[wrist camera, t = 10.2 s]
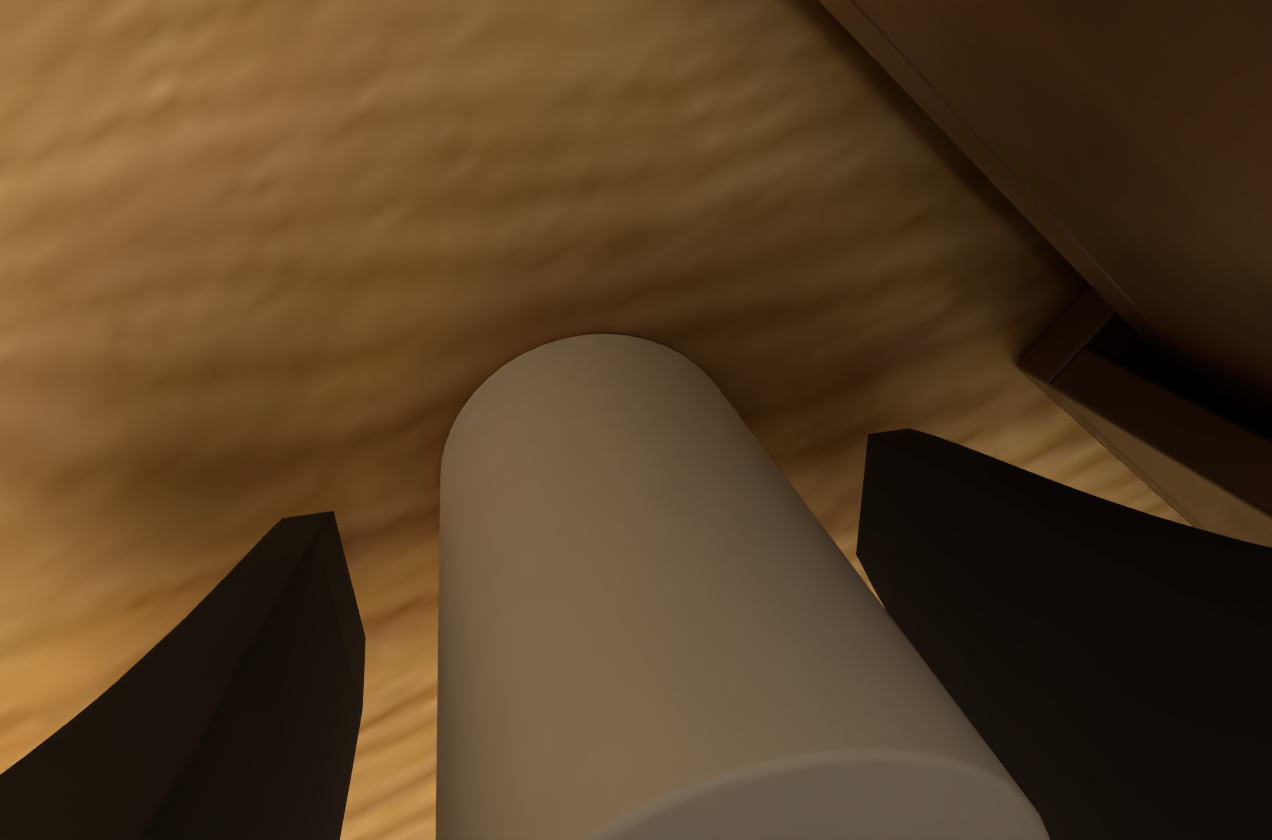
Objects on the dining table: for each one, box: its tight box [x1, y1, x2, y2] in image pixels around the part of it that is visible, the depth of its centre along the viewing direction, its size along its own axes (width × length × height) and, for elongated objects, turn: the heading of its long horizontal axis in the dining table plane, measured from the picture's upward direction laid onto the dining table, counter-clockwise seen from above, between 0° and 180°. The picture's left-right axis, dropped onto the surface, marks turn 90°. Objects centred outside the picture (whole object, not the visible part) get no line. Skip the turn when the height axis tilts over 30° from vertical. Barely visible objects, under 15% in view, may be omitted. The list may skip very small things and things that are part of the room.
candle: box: [436, 334, 1050, 840], centre depth 9 cm, size 5×5×8 cm
